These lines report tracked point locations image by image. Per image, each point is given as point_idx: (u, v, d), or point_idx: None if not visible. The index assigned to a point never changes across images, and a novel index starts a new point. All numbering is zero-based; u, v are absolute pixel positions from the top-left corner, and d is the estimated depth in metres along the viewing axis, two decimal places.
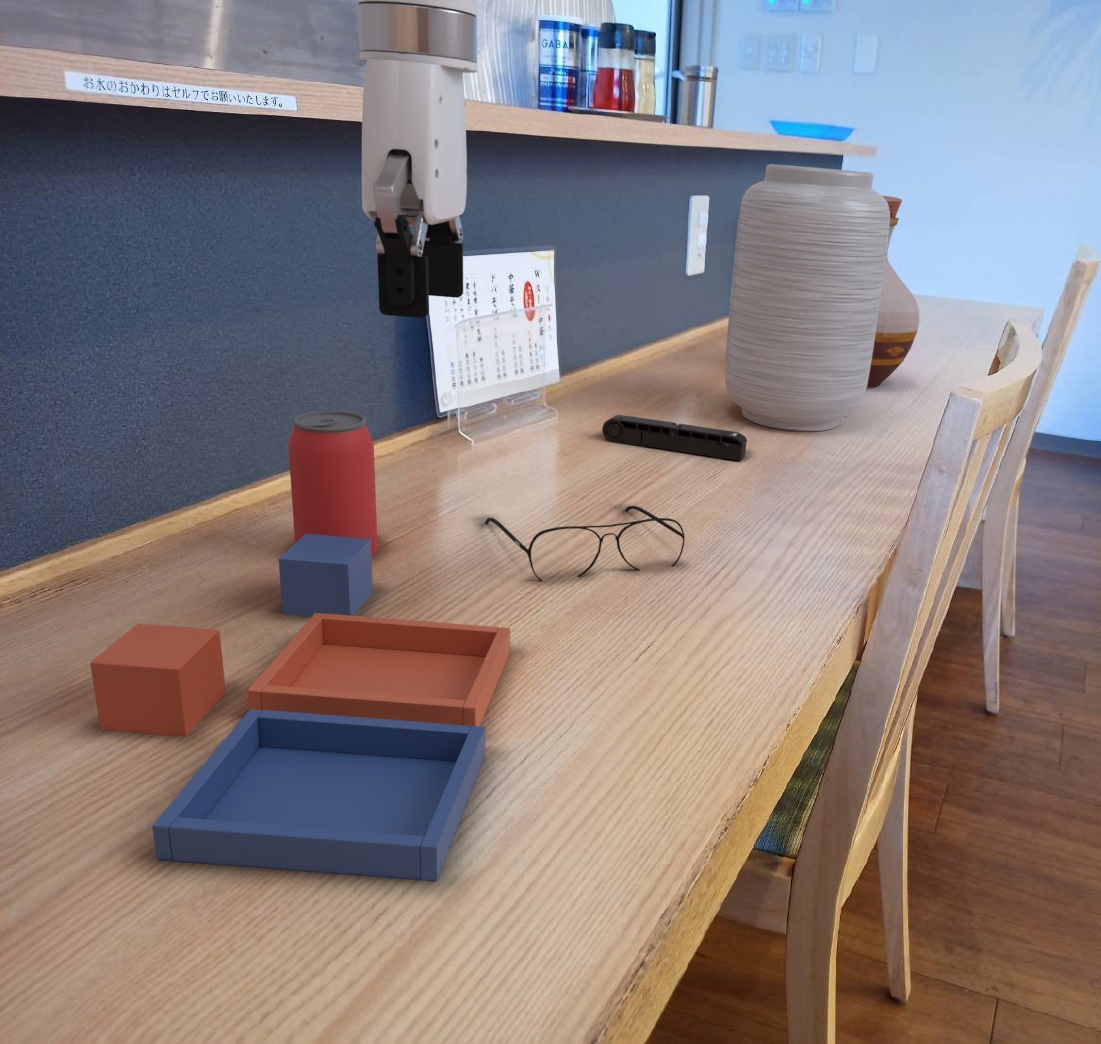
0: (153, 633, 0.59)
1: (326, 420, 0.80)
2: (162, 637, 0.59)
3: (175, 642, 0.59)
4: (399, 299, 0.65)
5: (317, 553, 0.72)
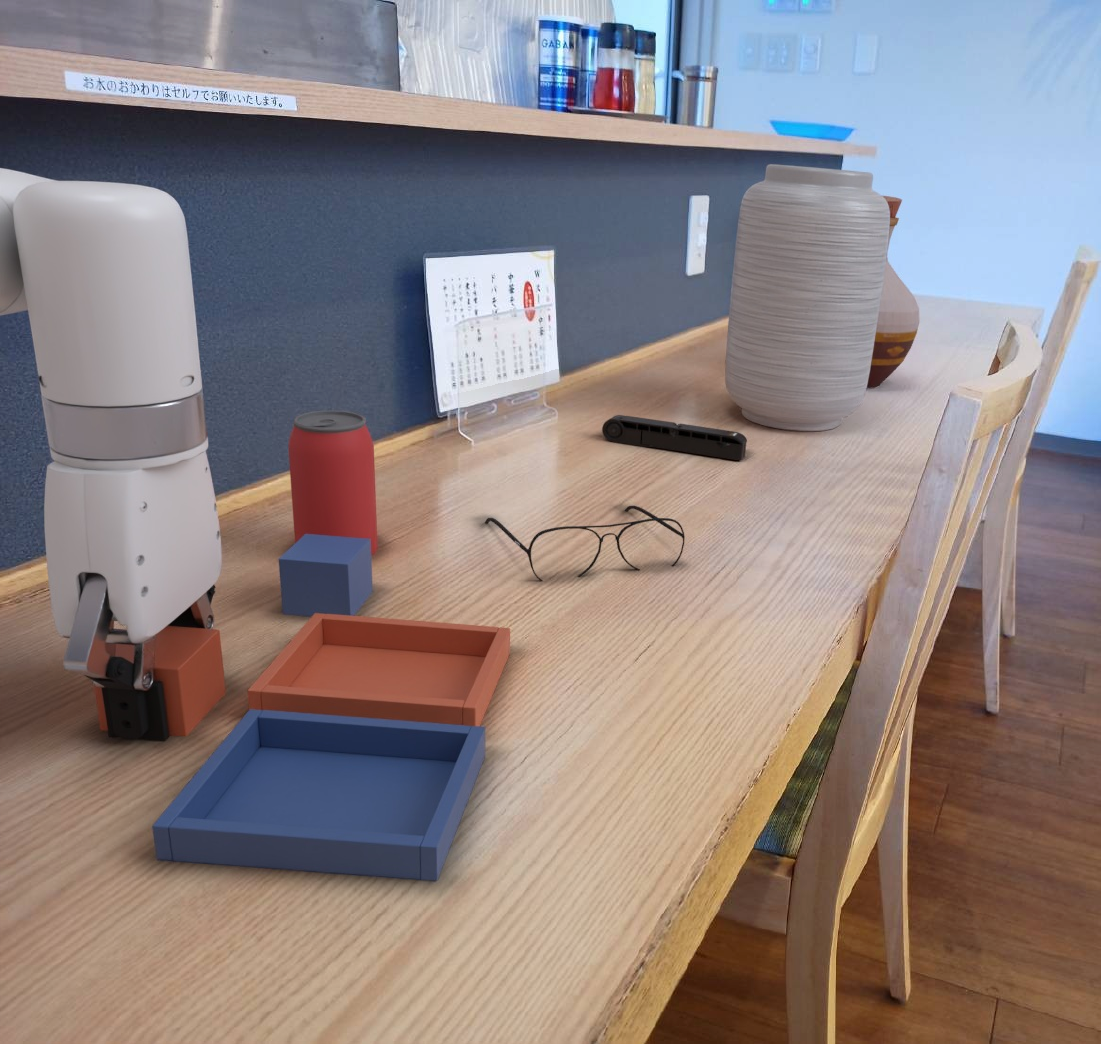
0: None
1: (326, 420, 0.80)
2: (162, 637, 0.59)
3: (175, 642, 0.59)
4: (127, 732, 0.56)
5: (317, 553, 0.72)
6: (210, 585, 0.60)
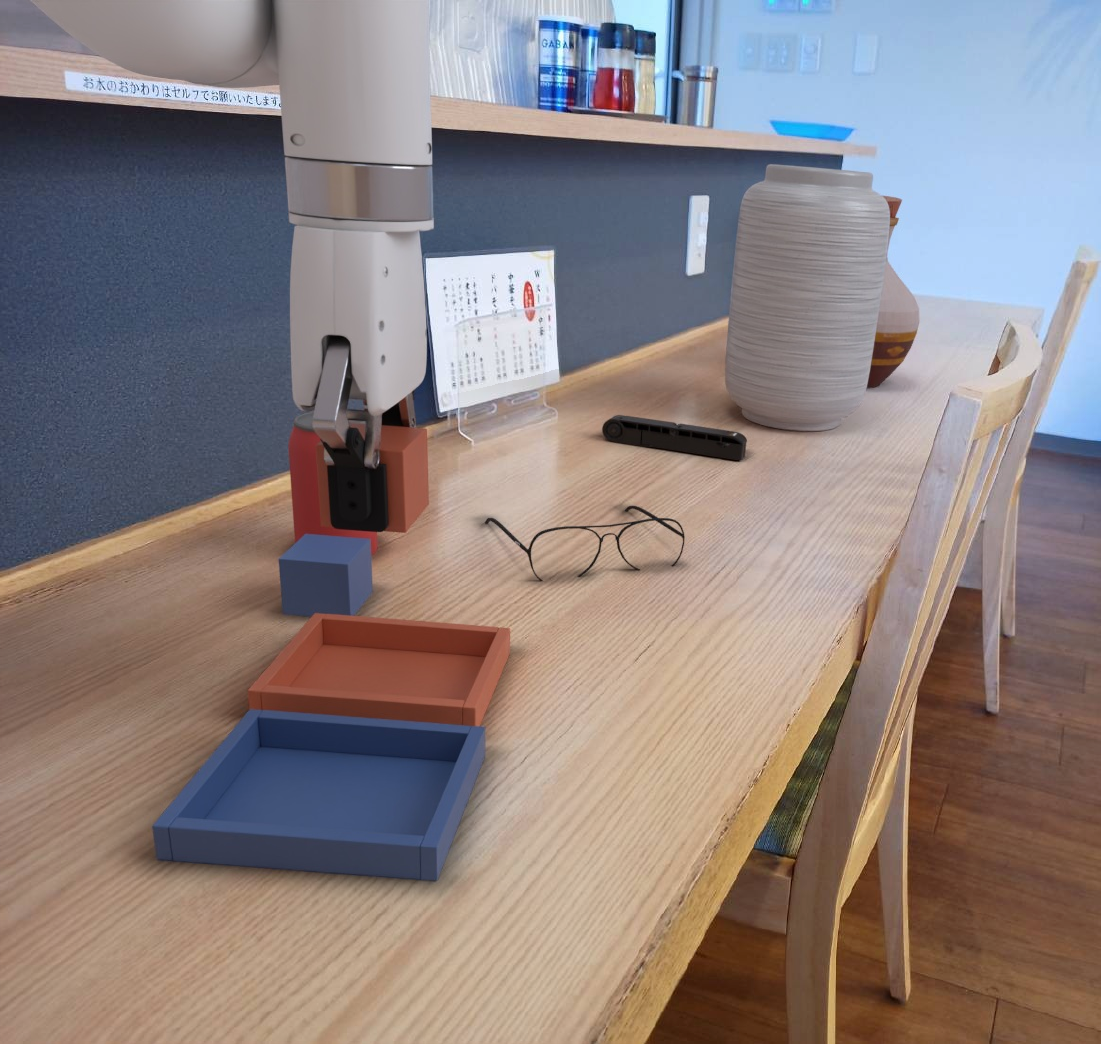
0: (364, 429, 0.60)
1: None
2: None
3: (389, 435, 0.59)
4: (353, 514, 0.56)
5: (317, 553, 0.72)
6: (419, 382, 0.60)
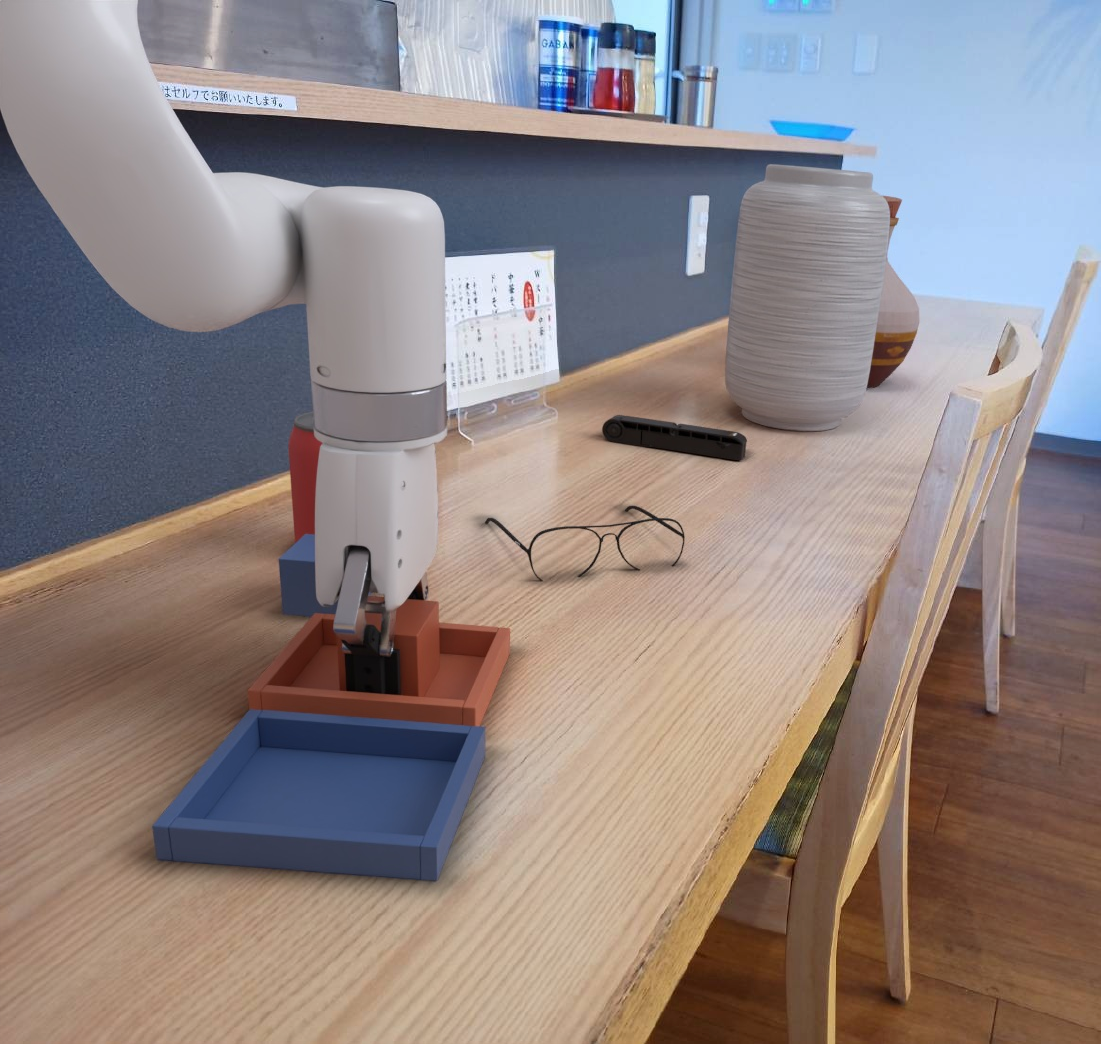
0: None
1: None
2: None
3: (404, 612, 0.63)
4: None
5: None
6: (431, 561, 0.65)
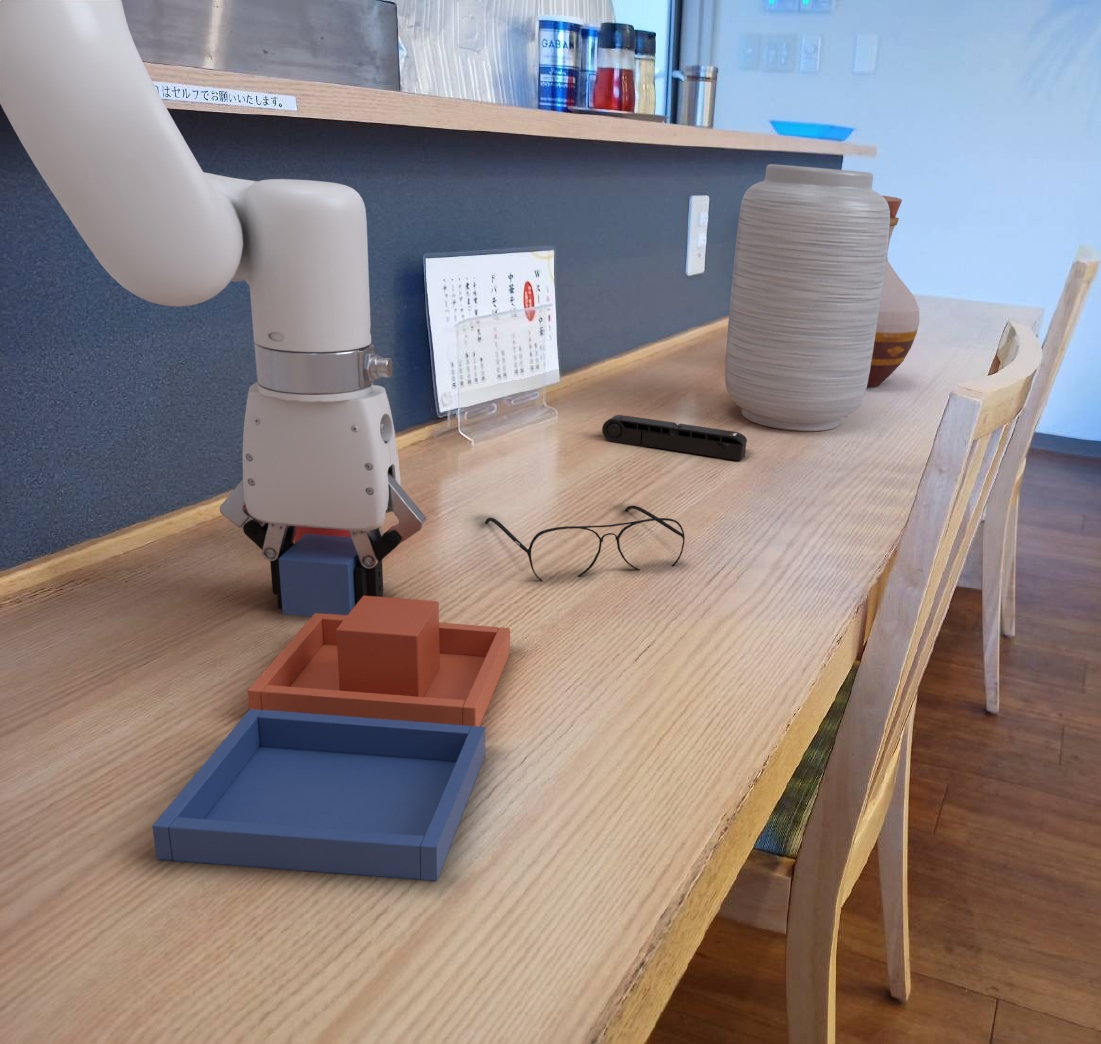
0: (380, 604, 0.64)
1: None
2: (390, 607, 0.64)
3: (404, 612, 0.63)
4: None
5: (317, 553, 0.72)
6: (353, 526, 0.70)
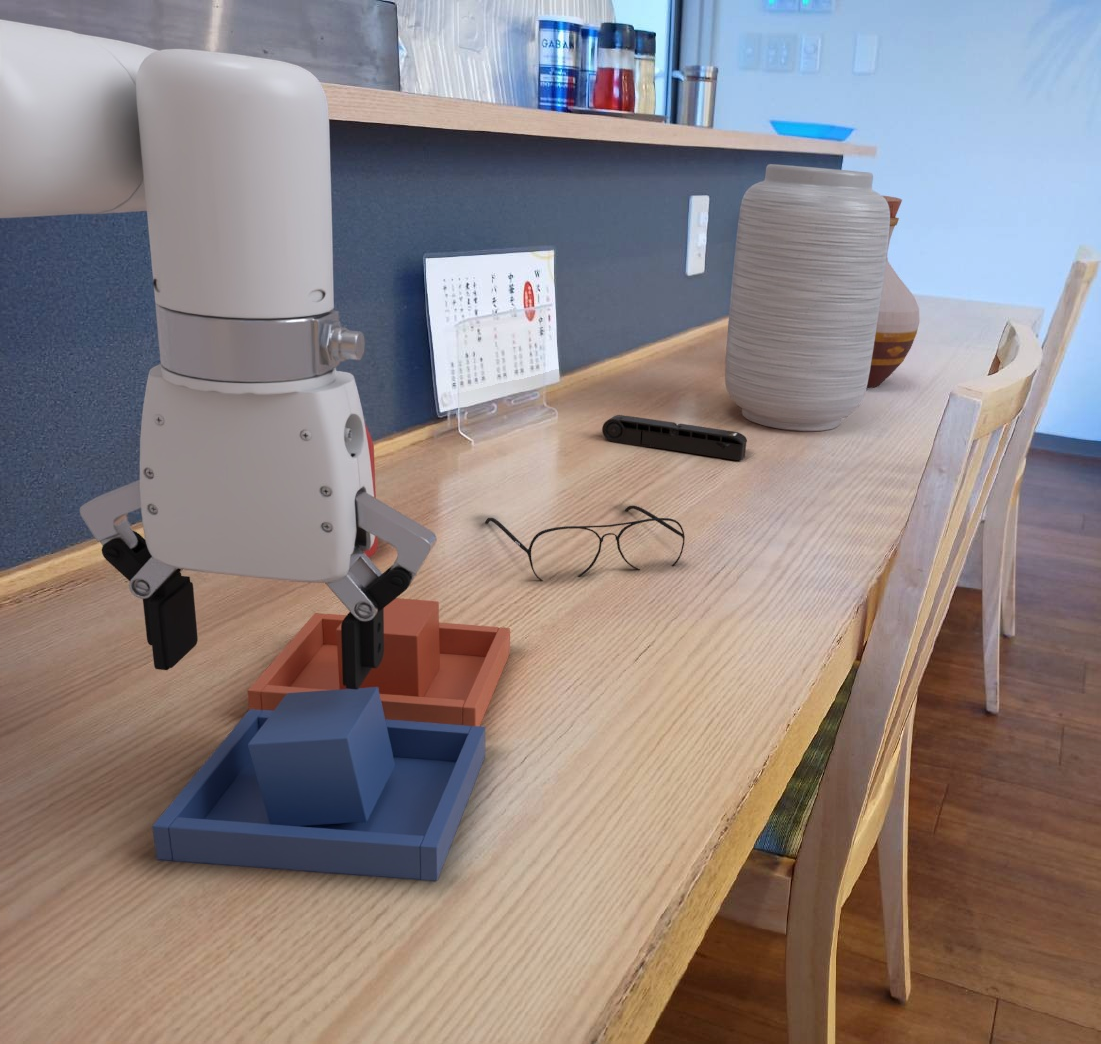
0: None
1: None
2: (390, 607, 0.64)
3: (404, 612, 0.63)
4: None
5: (302, 726, 0.50)
6: (302, 577, 0.48)
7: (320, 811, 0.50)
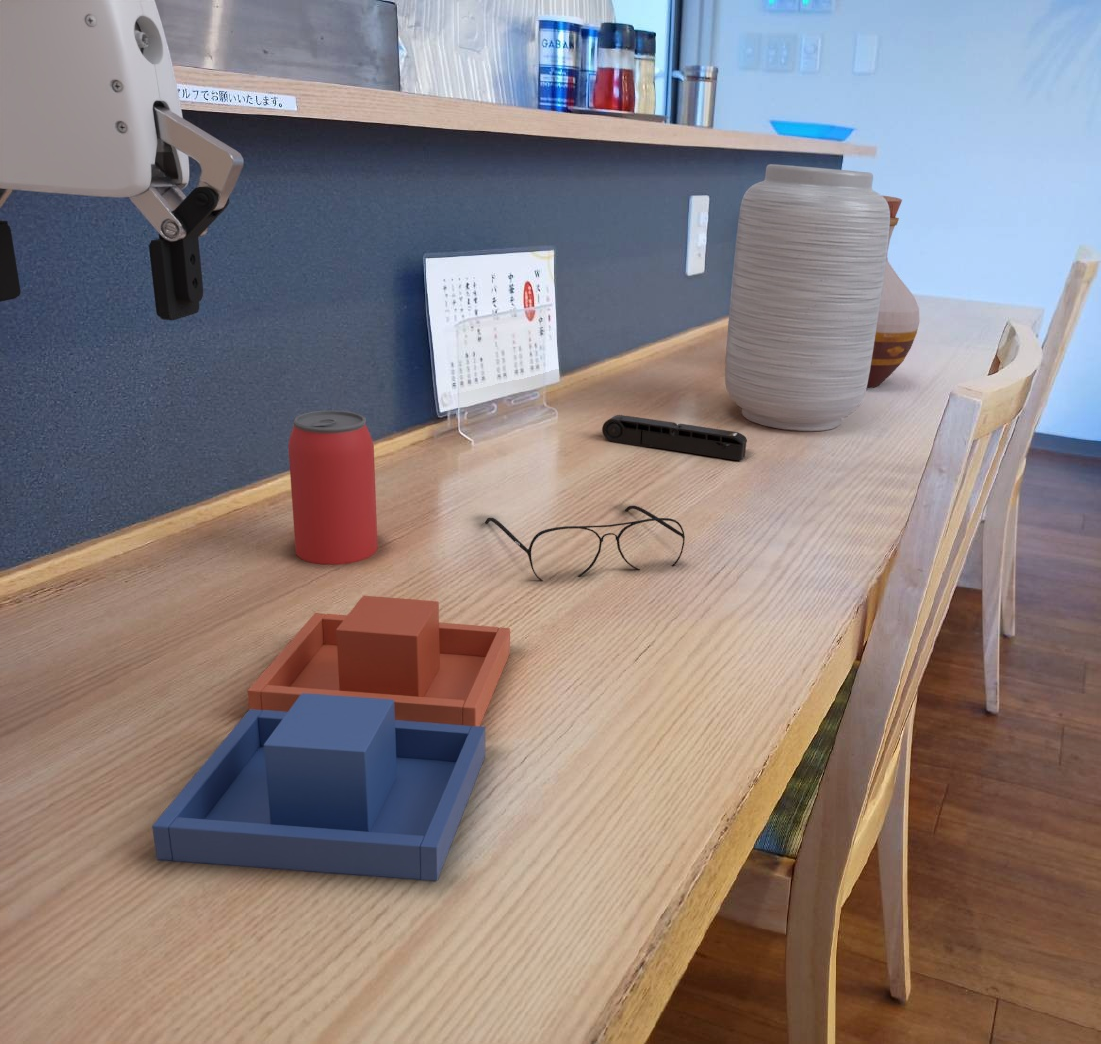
0: (380, 604, 0.64)
1: (326, 420, 0.80)
2: (390, 607, 0.64)
3: (404, 612, 0.63)
4: None
5: (319, 732, 0.50)
6: (103, 186, 0.48)
7: (324, 818, 0.50)
